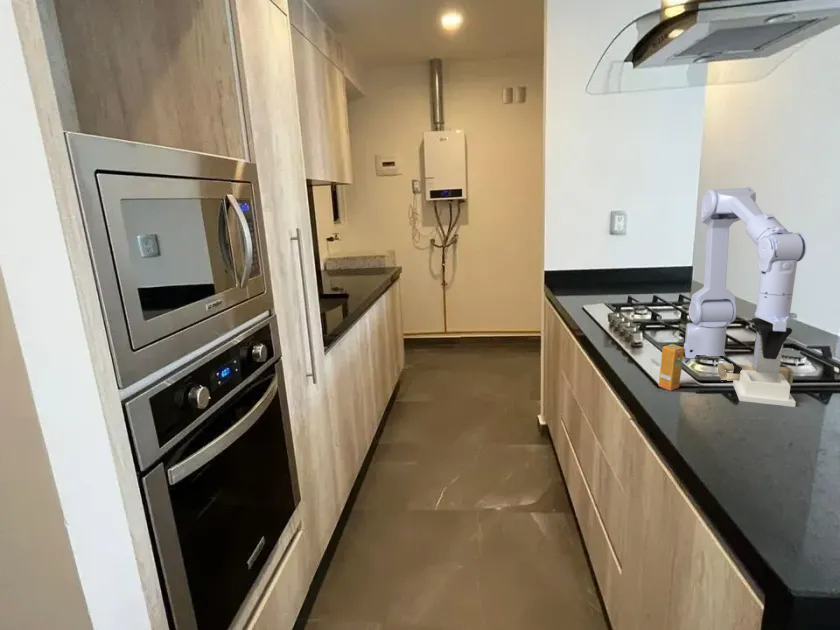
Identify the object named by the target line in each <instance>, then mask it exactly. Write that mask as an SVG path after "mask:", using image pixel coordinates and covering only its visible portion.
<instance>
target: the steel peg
mask: <svg viewBox="0 0 840 630" xmlns="http://www.w3.org/2000/svg"><path fill="white" fill-rule="evenodd" d="M755 335H756V336H755V343H754V351H753V359H752V366H753V368H754V369H755V371H756V372H758V373H770V374H779V370H780V367H781V361H782V355H783V354H782V353H783V348H784V344H783V345H782V347H781V349H780V352H779V354H778V356H777V358H776V359H765V358H764V357H763V351H762V338H761V334H760V331H757V332H756V334H755Z"/></svg>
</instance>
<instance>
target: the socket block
mask: <svg viewBox="0 0 840 630" xmlns="http://www.w3.org/2000/svg"><path fill="white" fill-rule="evenodd" d="M733 364H734V363H727V362H726V363H724V362H717V367H716V369H717V368H718V371H717V373H719V374H718V376H720V377H719V379H720V378H721V379H720V381H721V380H727V381H733V380H738V381H739V380H740V373H733V372H726V371H733V370H734V366H733ZM735 364H736V365H739V366H741V367H742V370H750V371H755V369H754V368H753V365H751V364H750V365H749V364H737V363H735ZM725 370H726V371H725Z"/></svg>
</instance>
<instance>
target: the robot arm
mask: <svg viewBox="0 0 840 630" xmlns="http://www.w3.org/2000/svg"><path fill="white" fill-rule="evenodd" d="M756 200H757V195H756V192H755V191H754V189H753V188H752V187H750V186H746V187H742V188H741V187H740V188H739V187H738V188H737V187H736V188H721V189H720V188H718V189H715V188H711V189H708V190H707V191H706V192H705V193H704V195H703V197H702V199H701V207H700V208H701V210H700V218H701V219H700V220H701V223H703V224H705V225H706V229H705V230H706V233H705V234H706V236H705V251H704V252H705V253H704V254H705V255H704V276H703V287H702V288H700V289H699V290H697V291H696V292H694V293H693V294H692V295H691V299H690V303H689V307H688V317H689V319H690V320H691V321H692V322H687V323H686V328H685V336H684V337H685V338H684V343H683V348H684V350H685V351H684V355H685V358H686V359H691V358H694V357H695V356H696V355H706V356H724V355H725V356H726V354H725V350H726V349H725V348H726V339H727V330H728V329H727V328H728V327H730V326H731V323H734V321H735V320H736V319H737V315H738V308H737V307H738V306H737V303H736V302H737V301H736V295H735V294H734V293H733V292H731V291H730V290H729V289H727V273H728V271H727V270H728V257H729V256H728V254H729V235H730V228H731V226H732V225H733V223H736V222H739V221H740V220H741V221H742V222H743V223H744V224H745V233H746V235H748V237H749V238H750V239H751V241H753V243H754V244H755V245H756V246H757V247H756V254H757V258H758V259H757V260H758V270H759V271H760V279H759V285H758V286H759V287H758V293H757V294H758V295H757V302H756V310H755V312H754V317H753V318H752V319H751V320H752V322H753V325H754V327H755V331H756V333H757V331H760V334H761V338H762V351H763V357H764V358H765V359H776V358H777V356H778V354H779V352H780V349H781V347H782V345H783V346H784V343H785V341H786V340H787V338H788V337H789V336H790V335H791V334H792V333H793V329H792V328H791V327H787V326H788V322H789V320H791V319H797V318H798V314H797V313H795V312H791V309H792V302H793V295H794V288H795V287H794V286H795V281H796V273H797V265H798V262H800V261H802V260H803V259H804V258H805V256H806V253H807V241H806V238H805V236H804V235H803V233H802V232H793V231H788V230H787V228H786V227H785V226H784V225H783V224H782V223H781V222H780V221H779V220H778V219H777V218H776V217H775V215H774V214H773V213H763V212H762V210H761V209H760V208H759V206H758V204H757V203H756ZM726 357H727V356H726Z"/></svg>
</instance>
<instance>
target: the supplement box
mask: <svg viewBox="0 0 840 630" xmlns="http://www.w3.org/2000/svg"><path fill="white" fill-rule="evenodd" d="M684 353H685V351H684V346H680V345H677V344H672V343H670V344H668V345H664V346H662V352H661V359H660V360H661V361H660V369H659V378H658V387H660V388H662V389H664V390H667V391H673V390H676V389H679V388H680V383H681V376H682V375H681V374H682V366H683V358H684Z"/></svg>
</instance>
